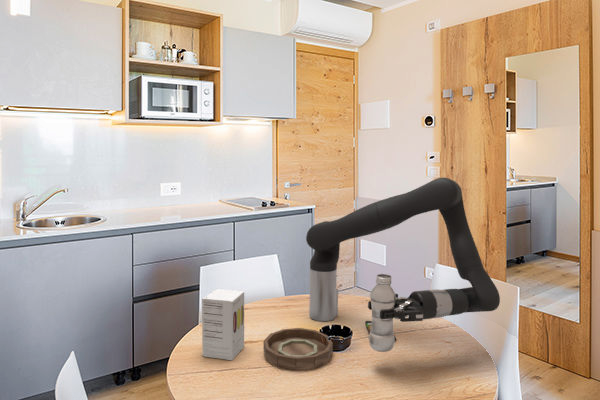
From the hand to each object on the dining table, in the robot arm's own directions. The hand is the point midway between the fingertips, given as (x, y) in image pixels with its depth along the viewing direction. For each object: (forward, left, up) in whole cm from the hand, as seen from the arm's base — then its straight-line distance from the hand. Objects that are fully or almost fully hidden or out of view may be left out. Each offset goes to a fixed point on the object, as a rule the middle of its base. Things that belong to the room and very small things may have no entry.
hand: (374, 310), depth 112 cm
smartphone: (-21, -14, -17) cm, 31 cm away
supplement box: (+24, -35, -17) cm, 45 cm away
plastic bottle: (-2, +1, -11) cm, 11 cm away
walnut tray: (+9, -20, -17) cm, 27 cm away
